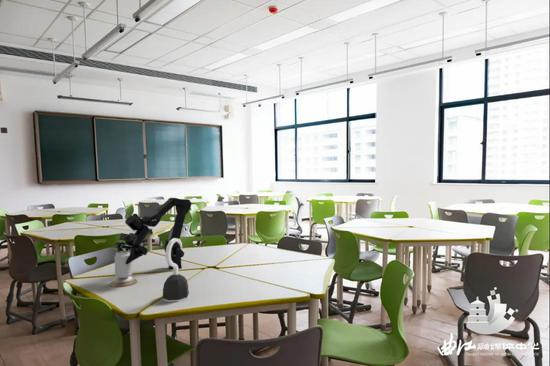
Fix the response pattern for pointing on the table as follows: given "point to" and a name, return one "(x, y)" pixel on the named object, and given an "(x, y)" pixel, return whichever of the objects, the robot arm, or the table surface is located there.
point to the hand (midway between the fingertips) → (120, 262)
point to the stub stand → (123, 282)
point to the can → (122, 264)
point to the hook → (174, 279)
